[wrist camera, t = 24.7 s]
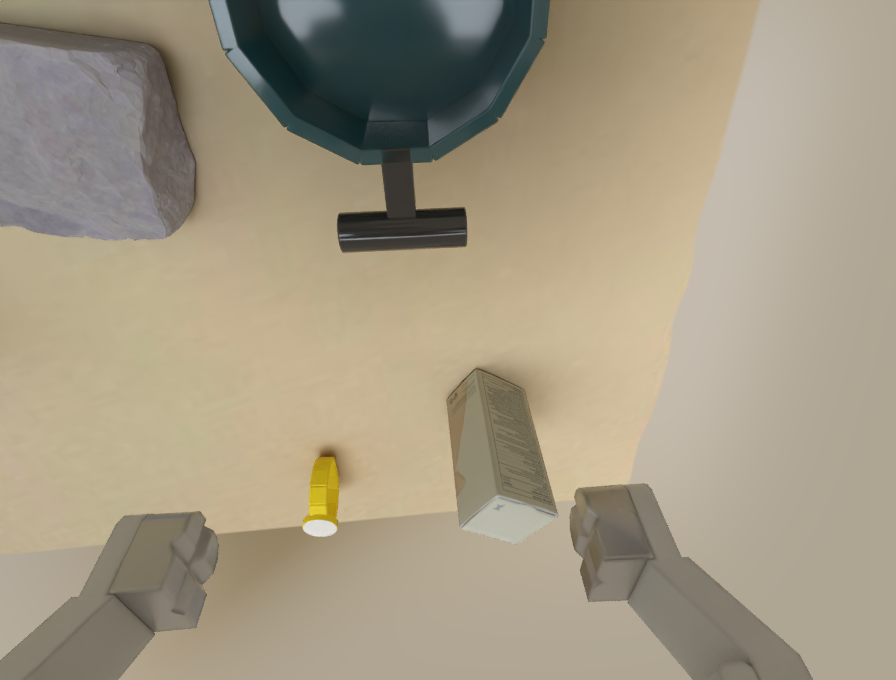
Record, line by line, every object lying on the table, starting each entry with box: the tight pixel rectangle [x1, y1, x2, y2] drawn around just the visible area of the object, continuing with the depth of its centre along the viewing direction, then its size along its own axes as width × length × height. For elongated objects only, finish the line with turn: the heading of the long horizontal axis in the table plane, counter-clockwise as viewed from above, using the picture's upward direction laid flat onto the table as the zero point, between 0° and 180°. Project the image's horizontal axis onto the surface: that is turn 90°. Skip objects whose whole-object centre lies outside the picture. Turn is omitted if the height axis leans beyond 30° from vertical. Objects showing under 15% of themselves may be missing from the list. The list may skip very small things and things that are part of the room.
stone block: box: [0, 23, 196, 240], centre depth 24 cm, size 12×5×10 cm
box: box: [447, 369, 558, 544], centre depth 35 cm, size 5×4×11 cm
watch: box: [302, 457, 339, 537], centre depth 41 cm, size 6×3×6 cm, turn 178°
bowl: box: [209, 0, 550, 253], centre depth 18 cm, size 15×12×4 cm
